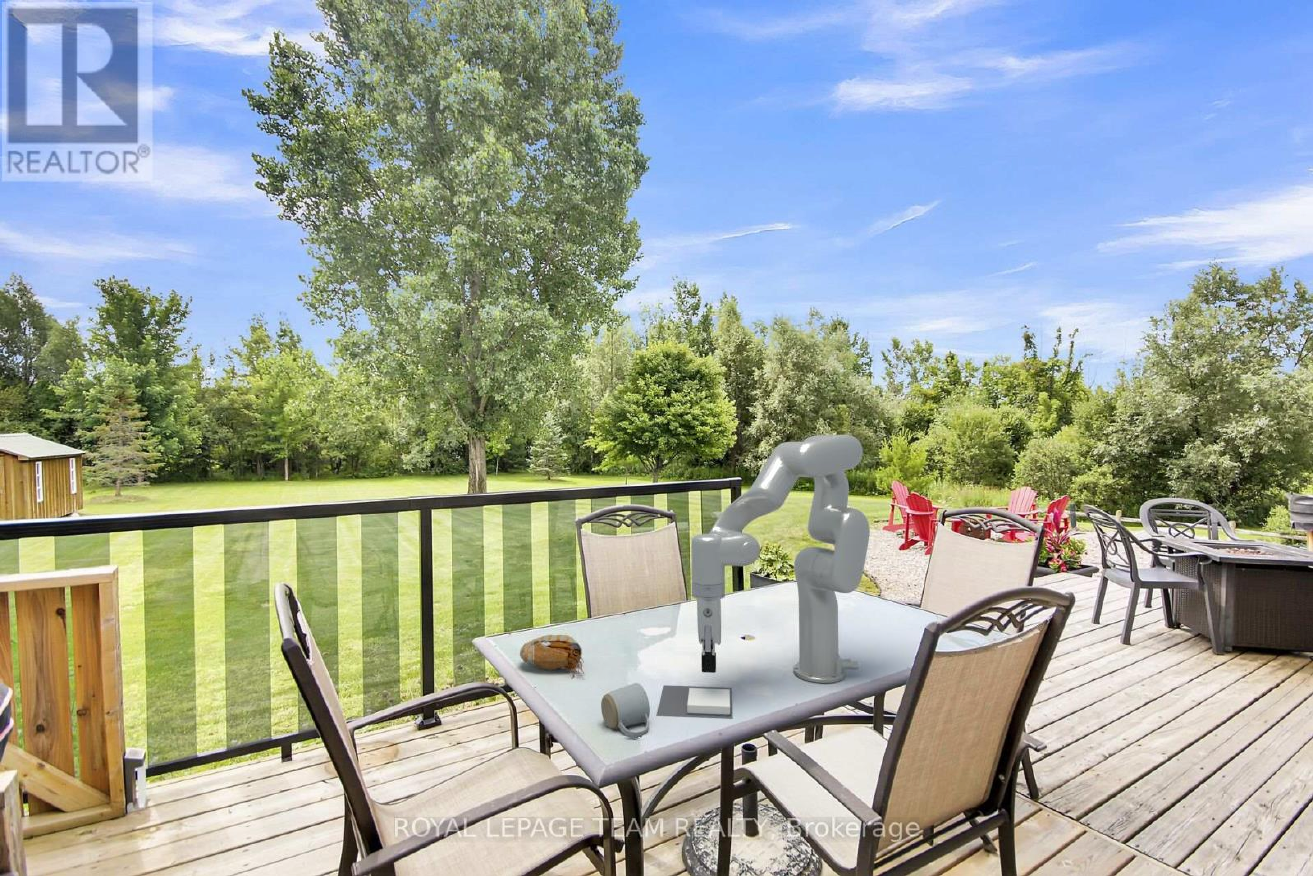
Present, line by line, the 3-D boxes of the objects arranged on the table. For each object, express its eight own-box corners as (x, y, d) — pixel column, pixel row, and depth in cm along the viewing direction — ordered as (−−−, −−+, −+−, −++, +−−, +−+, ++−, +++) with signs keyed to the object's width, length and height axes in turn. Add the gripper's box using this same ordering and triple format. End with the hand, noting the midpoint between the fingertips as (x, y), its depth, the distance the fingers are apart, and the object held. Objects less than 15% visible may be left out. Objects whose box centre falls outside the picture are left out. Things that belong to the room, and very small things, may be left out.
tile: (729, 689, 134) (730, 706, 125) (729, 698, 134) (730, 716, 125) (689, 688, 135) (687, 705, 126) (689, 696, 135) (687, 714, 126)
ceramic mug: (598, 722, 124) (598, 686, 124) (632, 713, 128) (632, 677, 128) (623, 745, 115) (623, 705, 115) (659, 734, 119) (659, 695, 119)
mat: (731, 690, 140) (731, 687, 140) (732, 721, 124) (732, 718, 124) (663, 687, 141) (663, 685, 141) (656, 718, 125) (656, 715, 125)
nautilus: (604, 677, 150) (550, 695, 141) (563, 649, 167) (513, 664, 158) (603, 646, 149) (549, 663, 140) (562, 621, 166) (512, 635, 157)
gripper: (724, 598, 126) (725, 685, 126) (725, 582, 141) (725, 660, 141) (689, 597, 127) (690, 683, 127) (693, 581, 142) (694, 659, 142)
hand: (708, 671), depth 134 cm, fingers closed
